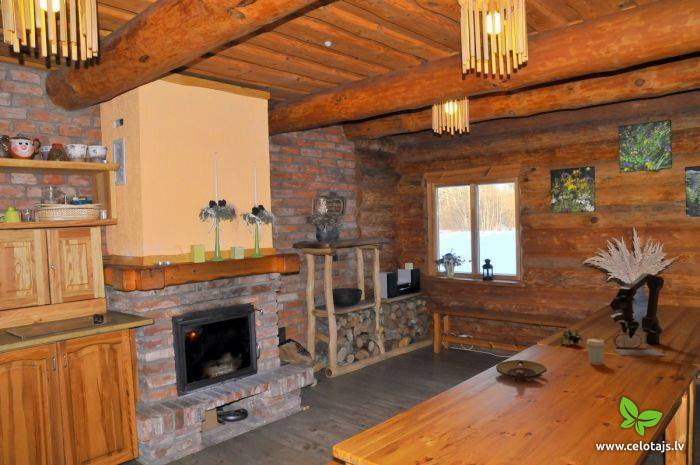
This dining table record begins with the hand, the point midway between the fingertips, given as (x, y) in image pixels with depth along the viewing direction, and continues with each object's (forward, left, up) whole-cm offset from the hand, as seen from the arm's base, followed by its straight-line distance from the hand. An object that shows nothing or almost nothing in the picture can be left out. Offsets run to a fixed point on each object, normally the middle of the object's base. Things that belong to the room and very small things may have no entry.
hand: (627, 336), depth 296 cm
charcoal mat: (-1, +13, -6) cm, 15 cm away
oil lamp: (+71, +65, -7) cm, 96 cm away
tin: (0, 0, -7) cm, 7 cm away
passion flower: (+30, -4, -7) cm, 31 cm away
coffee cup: (+28, +36, -7) cm, 46 cm away
